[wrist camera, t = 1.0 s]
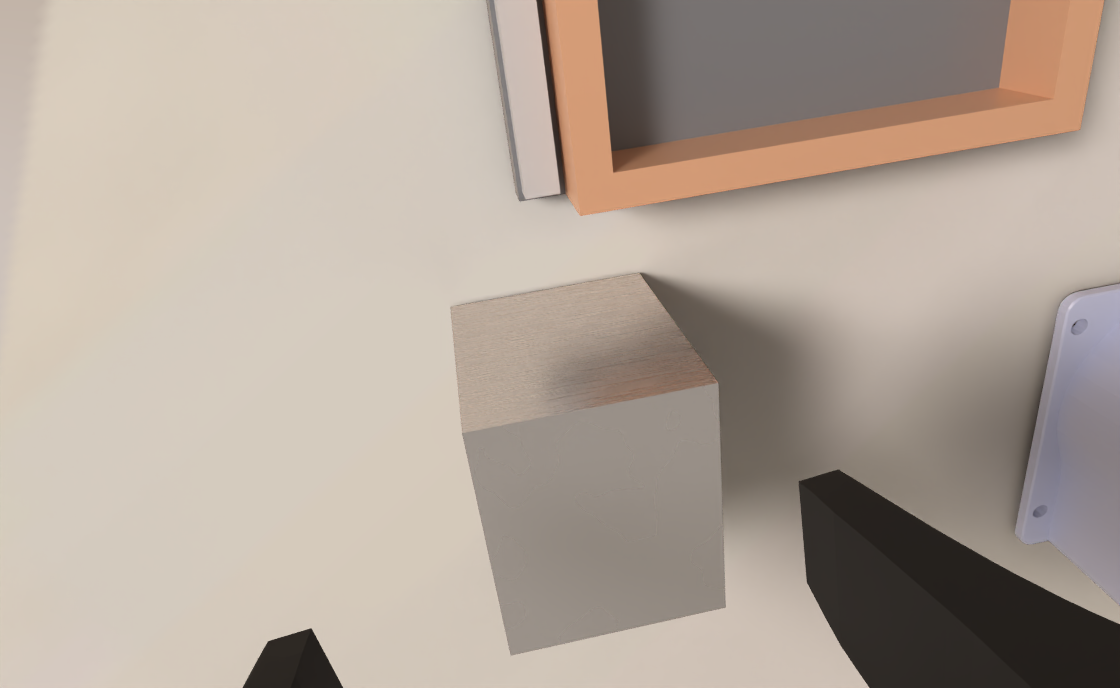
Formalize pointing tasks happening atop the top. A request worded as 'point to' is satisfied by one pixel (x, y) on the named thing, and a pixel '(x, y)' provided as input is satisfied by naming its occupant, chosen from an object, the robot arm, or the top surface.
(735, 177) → the frame
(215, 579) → the top surface
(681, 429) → the brushed metal cube
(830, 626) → the robot arm
